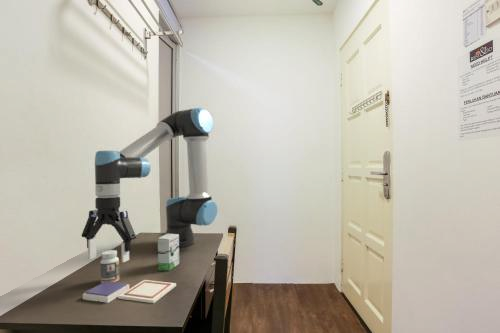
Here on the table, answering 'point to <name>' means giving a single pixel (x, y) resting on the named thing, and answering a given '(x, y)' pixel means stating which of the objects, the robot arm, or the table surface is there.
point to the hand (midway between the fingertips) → (108, 259)
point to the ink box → (168, 251)
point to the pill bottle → (109, 266)
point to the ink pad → (105, 291)
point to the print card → (147, 291)
